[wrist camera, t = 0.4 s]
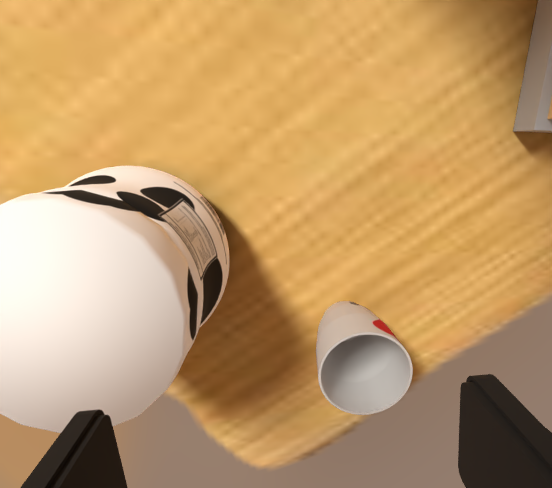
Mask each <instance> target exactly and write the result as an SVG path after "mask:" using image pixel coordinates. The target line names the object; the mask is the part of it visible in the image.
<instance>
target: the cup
mask: <svg viewBox="0 0 552 488" xmlns="http://www.w3.org/2000/svg"><path fill="white" fill-rule="evenodd" d="M316 357H317V368H318V378H319V385H320V388H321V391H322V393H323V394H324V396H325V397H326V399H327V400H328V401H329V402H330V403H331V404H332V405H333V406H335V407H336V408H338V409H340V410H342V411H344V412H347V413H351V414H357V415H368V414H374V413H378V412H381V411H384V410H386V409H388V408H390V407H391V406H393V405H394V404H396V403H397V402H398V401H399V400H400V399H401V398H402V397H403V396H404V394H405V393H406V391H407V390H408V388H409V386H410V383H411V380H412V374H413V368H412V362H411V359H410V356H409V354H408V352H407V351H406V349H405V348H404V347H403V346H402V344H401V343H400V342H399V340H398V339H397V338H396V337H395V335H394V334H393V333H392V332H391V330H390V329H389V328H388V327H387V325H386V324H385V323H384V322H382V321H381V320H380V319H379V318H378V317H377V316H375V315H374V314H373V313H372V312H371V311H370V310H368V309H367V308H365V307H363V306H361V305H358V304H356V303H354V302H350V301H341V302H337V303H335V304H333V305H331V306H330V307H329V308H328V309H327V310H326V311H325V313H324V315H323V317H322V319H321V322H320V324H319V327H318V334H317V344H316Z"/></svg>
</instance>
